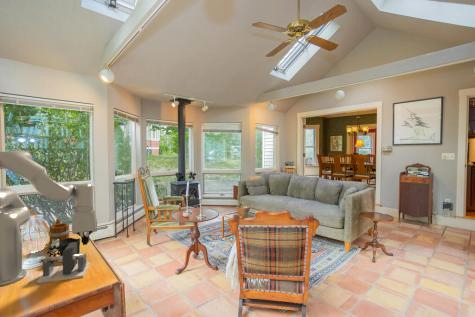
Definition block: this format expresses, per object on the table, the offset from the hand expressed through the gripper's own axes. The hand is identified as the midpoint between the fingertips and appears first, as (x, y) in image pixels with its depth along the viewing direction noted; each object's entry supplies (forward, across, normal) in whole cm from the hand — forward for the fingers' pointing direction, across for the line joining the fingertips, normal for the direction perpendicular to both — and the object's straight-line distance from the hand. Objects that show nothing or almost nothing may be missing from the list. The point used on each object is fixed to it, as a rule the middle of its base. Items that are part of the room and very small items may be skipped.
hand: (85, 243), depth 119 cm
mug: (+13, -23, +38) cm, 46 cm away
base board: (+13, -8, -2) cm, 15 cm away
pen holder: (+13, -11, +16) cm, 23 cm away
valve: (+13, -21, +25) cm, 35 cm away
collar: (+11, -6, -2) cm, 13 cm away
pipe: (+13, -8, -2) cm, 15 cm away
